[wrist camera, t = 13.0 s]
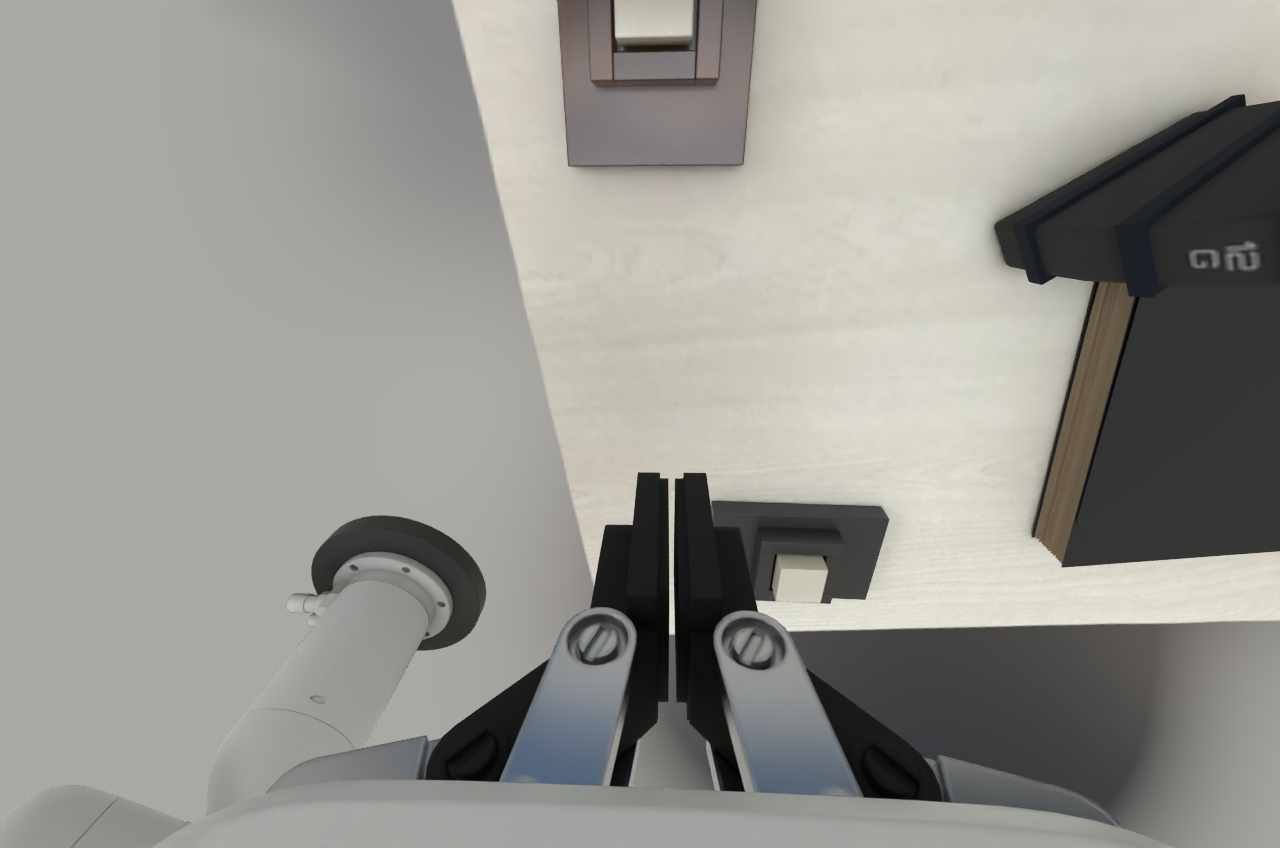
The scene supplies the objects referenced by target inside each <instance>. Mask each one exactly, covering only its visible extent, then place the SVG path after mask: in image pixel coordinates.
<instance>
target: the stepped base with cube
mask: <svg viewBox="0 0 1280 848" xmlns="http://www.w3.org/2000/svg"><path fill="white" fill-rule="evenodd" d="M711 513H712V520H713V526H734V527H739V528H740V531H741V535H742V540H743V545H744V549H745V554H746V559H747V563H748V568H749V573H750V577H751V582H752V587H753V591H754V596H755V600H759V601H775V597H774V593H773V589H772V581H773V575H774V569H775V563H776V557H777V554H795V555H821V556H823V559H824V561H825V564H826V566H827V569H828V573H827V578H826V582H825V586H824V590H823V594H822V599H821V603H826V604H830V603H831V600H832V598H840V599H862V600H865V599H866V596H867V592H868V589H869V586H870V582H871V579H872V576H873V572H874V569H875V566H876V562H877V559H878V556H879V552H880V549H881V546H882V542H883V539H884V536H885V532H886V529H887V526H888V522H889V518H888V517H887V515H886V513H885V512H884V510H883V509H882V507H874V506H844V505H815V504H785V503H755V502H725V501H712V507H711Z"/></svg>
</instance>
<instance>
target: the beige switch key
mask: <svg viewBox="0 0 1280 848" xmlns="http://www.w3.org/2000/svg"><path fill="white" fill-rule="evenodd" d="M693 11H694V0H614V18H615V38H616V40H617V42H618V45H619V46H662V45H690V44H691V43H692V35H693Z"/></svg>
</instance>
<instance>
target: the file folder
mask: <svg viewBox="0 0 1280 848" xmlns="http://www.w3.org/2000/svg"><path fill="white" fill-rule="evenodd" d="M1033 537H1036V539H1039V542H1042V544H1044V545H1043V546H1045V547H1047V549H1049V550H1048V551H1051V553H1053V555H1055V556H1056V557H1055V558H1058V559H1057V560H1059V561H1060V562H1061V563H1062V567H1074V566H1088V565H1101V564H1115V563H1128V562H1141V561H1155V560H1168V559H1181V558H1195V557H1208V556H1222V555H1235V554H1248V553H1262V552H1275V551H1280V285H1278V286H1247V287H1199V286H1175V285H1169V286H1168V287H1167V288H1165V289H1164V290H1163V291H1161V292H1160V293H1159V294H1157V295H1156V296H1155V297H1153V298H1147V297H1130V296H1129V295H1128V290H1127V285H1126V283H1112V282H1097V281H1095V283H1094V287H1093V291H1092V295H1091V299H1090V303H1089V307H1088V311H1087V315H1086V319H1085V323H1084V327H1083V331H1082V335H1081V339H1080V343H1079V348H1078V352H1077V356H1076V360H1075V364H1074V368H1073V372H1072V376H1071V380H1070V384H1069V388H1068V392H1067V396H1066V400H1065V404H1064V408H1063V412H1062V417H1061V421H1060V425H1059V429H1058V433H1057V437H1056V441H1055V445H1054V449H1053V453H1052V457H1051V461H1050V465H1049V469H1048V473H1047V477H1046V481H1045V485H1044V489H1043V493H1042V497H1041V501H1040V506H1039V510H1038V514H1037V518H1036V522H1035V526H1034V530H1033V534H1032V538H1033Z"/></svg>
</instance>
